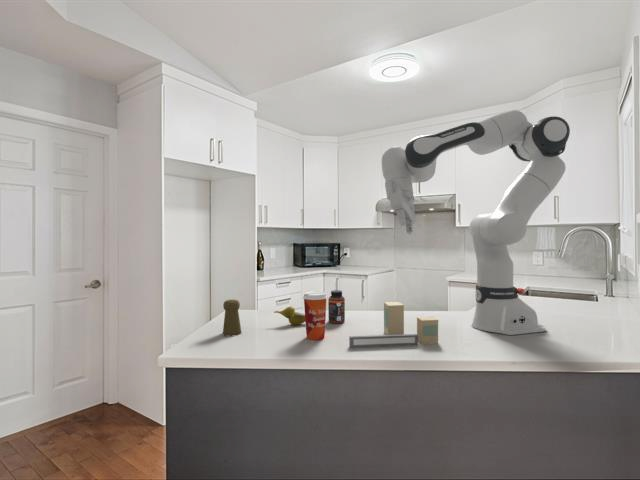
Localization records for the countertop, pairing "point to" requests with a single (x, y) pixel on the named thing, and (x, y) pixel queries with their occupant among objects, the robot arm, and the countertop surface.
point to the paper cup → (315, 314)
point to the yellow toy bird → (292, 316)
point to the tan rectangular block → (393, 318)
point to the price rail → (383, 340)
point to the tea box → (427, 330)
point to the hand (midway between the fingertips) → (406, 229)
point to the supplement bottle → (336, 307)
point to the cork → (231, 318)
